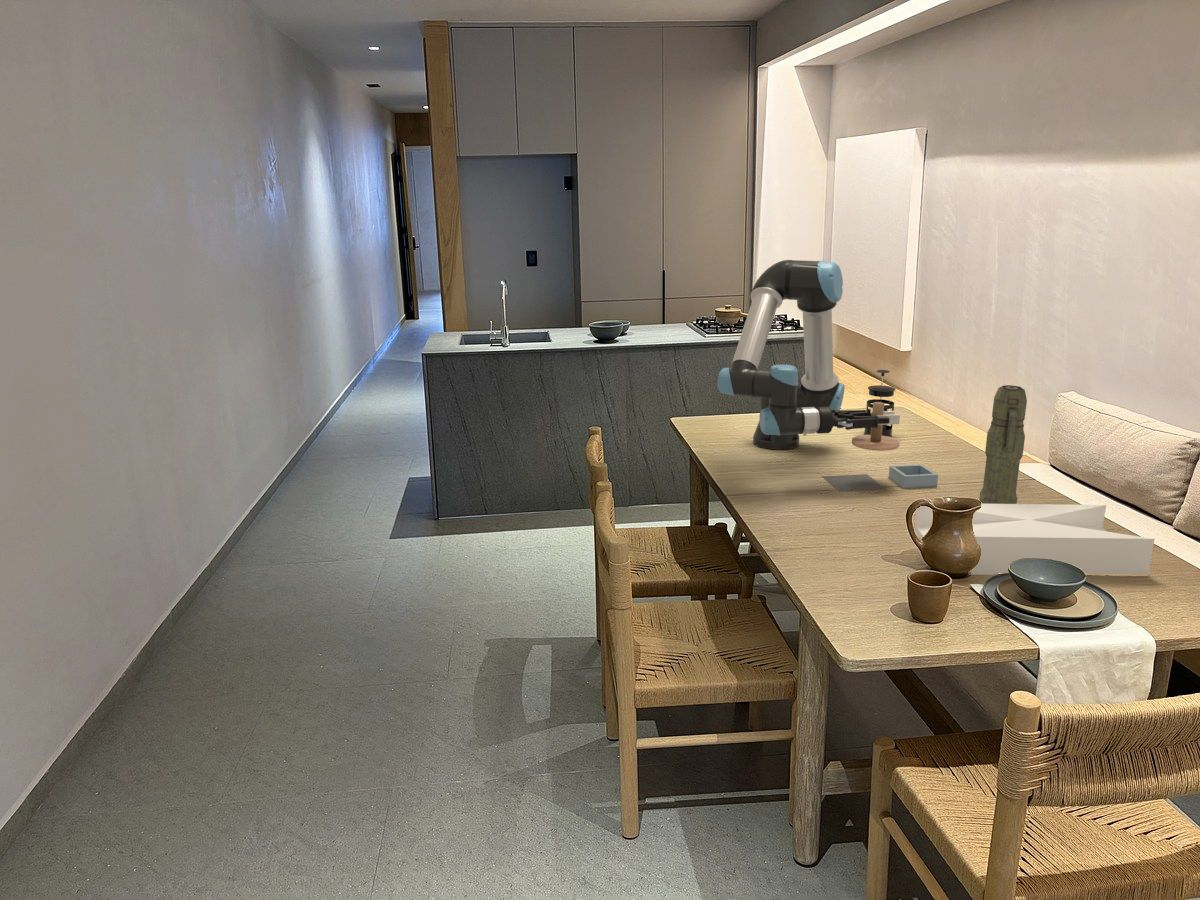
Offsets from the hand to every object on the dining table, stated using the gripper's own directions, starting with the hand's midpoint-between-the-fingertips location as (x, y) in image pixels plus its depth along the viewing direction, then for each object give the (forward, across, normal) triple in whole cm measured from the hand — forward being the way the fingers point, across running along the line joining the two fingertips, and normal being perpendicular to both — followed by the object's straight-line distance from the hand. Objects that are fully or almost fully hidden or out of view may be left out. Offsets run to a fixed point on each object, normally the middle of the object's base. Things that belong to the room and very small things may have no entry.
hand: (896, 417), depth 261 cm
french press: (+16, -50, -20) cm, 56 cm away
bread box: (+10, +54, -21) cm, 58 cm away
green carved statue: (+15, +31, -20) cm, 40 cm away
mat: (-10, -2, -20) cm, 23 cm away
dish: (+7, 0, -20) cm, 21 cm away
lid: (-5, 0, -8) cm, 9 cm away
